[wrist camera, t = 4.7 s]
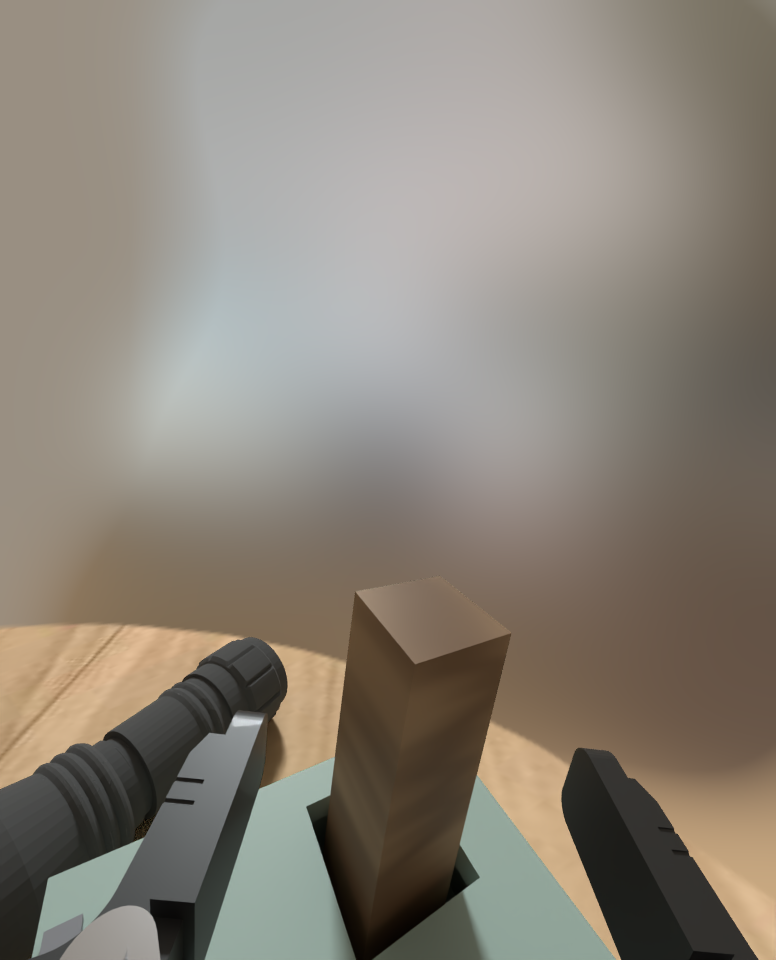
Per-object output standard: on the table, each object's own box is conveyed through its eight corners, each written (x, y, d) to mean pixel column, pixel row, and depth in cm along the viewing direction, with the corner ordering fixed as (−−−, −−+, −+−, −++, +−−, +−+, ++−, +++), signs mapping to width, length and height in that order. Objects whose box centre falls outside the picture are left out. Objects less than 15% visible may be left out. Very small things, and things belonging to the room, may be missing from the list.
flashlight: (232, 682, 26) (235, 614, 25) (293, 720, 24) (299, 647, 23) (-138, 966, 13) (-174, 850, 12) (-80, 1114, 11) (-118, 991, 9)
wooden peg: (350, 1031, 12) (415, 664, 9) (316, 910, 15) (355, 591, 11) (430, 964, 14) (511, 633, 10) (386, 866, 16) (439, 575, 13)
